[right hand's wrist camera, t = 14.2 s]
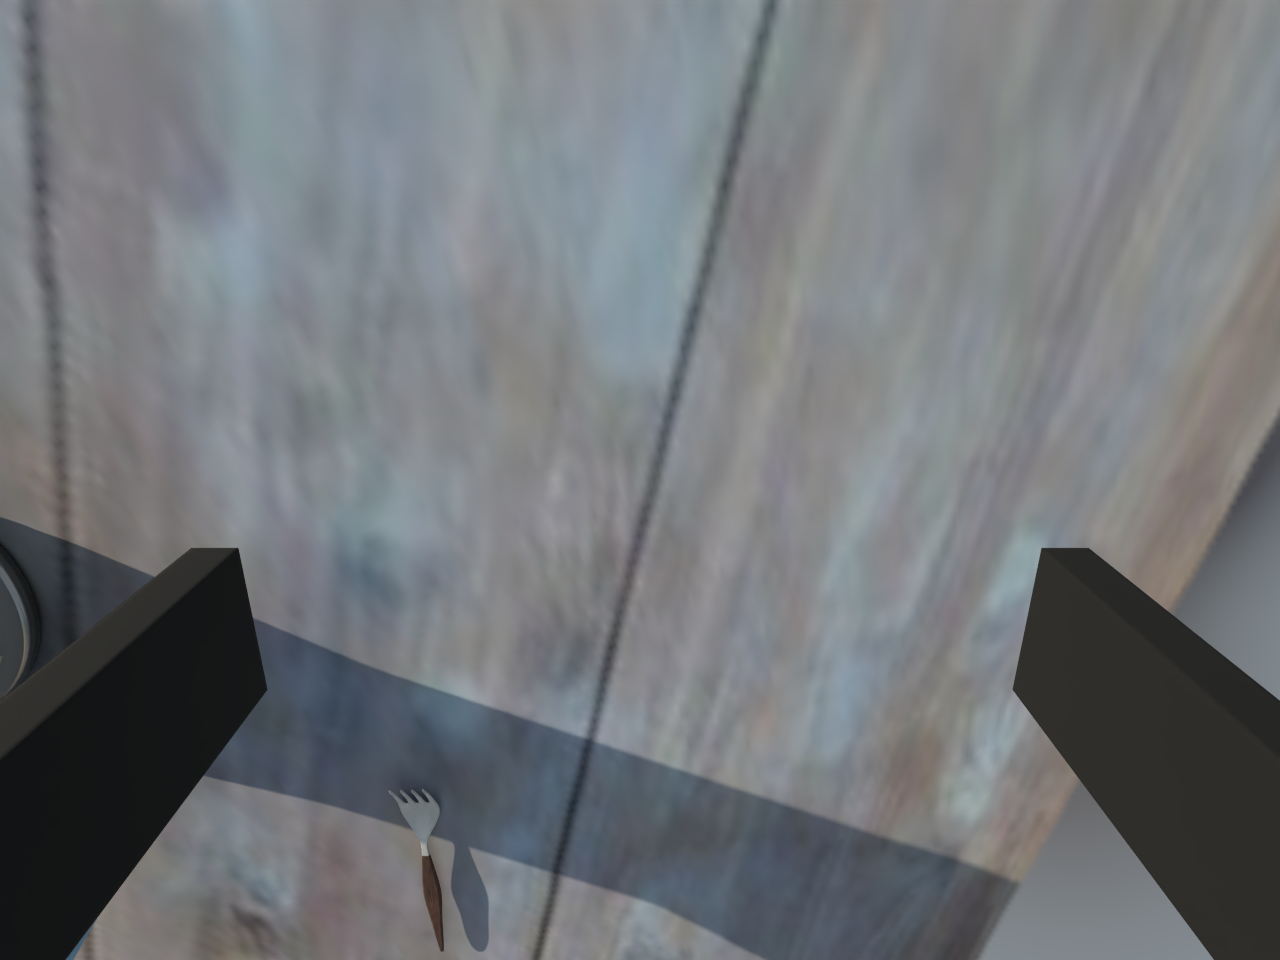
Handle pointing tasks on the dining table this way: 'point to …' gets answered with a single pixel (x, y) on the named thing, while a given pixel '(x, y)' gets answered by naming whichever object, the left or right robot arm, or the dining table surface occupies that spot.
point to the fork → (425, 852)
